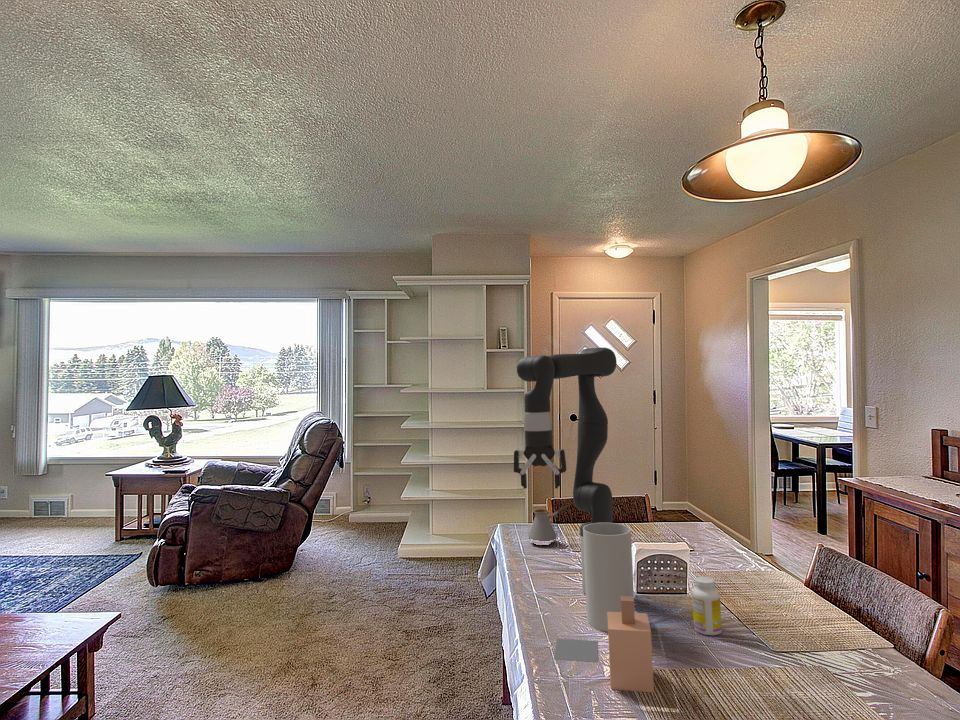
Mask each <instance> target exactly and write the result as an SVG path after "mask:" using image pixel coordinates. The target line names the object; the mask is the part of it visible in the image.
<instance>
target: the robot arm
mask: <svg viewBox="0 0 960 720" xmlns="http://www.w3.org/2000/svg"><path fill="white" fill-rule="evenodd" d="M616 368H617V357H616V354H615V352H614V351H613V350H612V349H610V348H608V347H592V348H583V349H581V350H580V352H579V353H558V354H550V355H543V354H542V355H532V356H525V357H522V358H521V359H520V360H519V361H518V363H517V364H516V373H517V376H518V377H519V379H521V380H522V381H524V382H530V383H531V382H535V384H534V387H533V389H531V390H527V391H526V392H525V393H524V396H523V397H524V399H523V403H524V417H523V418H524V419H523V421H524V422H523V423H524V425H523V429H524V441H525V442H524V446H525V447H524V450H519V449H515V451H514V452H513V472H514V473H517V474H519V475H520V485H521V487H523V490H524V489H527V488H528V480H527V479H528V477H527V473H526V472H527V470H528V469H530V468H529V467H530V466H531V465H532V466H533V467H539V466H541V467H546V466H548V467H549V468H550V469H551V470H552V472H554V488H555V489H559V487H560V485H561V474H563V473H566V471H567V461H566V460H567V459H566V451H565V449H564V448H561V449H554V446H553V445H554V443H553V423H552V422H553V419H552V415H551V414H552V413H551V399H550V398H551V392H552V388H553V383H554V380H559V379H565V378H571V377H576V376H577V383H578V417H577V450H576V451H577V452H576V464H575V465H576V466H575V473H574V480H573V488H572V489H573V490H572V497H573V498H572V499H573V502H574V504H573V505H574V507H575V508H576V509H577V510H579V511H581V512H586V513H591V521H587V522H583V523H581V525H580V527H579V534H580V537H579V539H580V541H579V542H580V558H581V562H580V563H581V564H580V565H581V584H582V592H584V593H585V594H584V593H583V594H584V595H586V588H585V565H584V542H583V527H584V526H586V525H588V524H592V523H613V495H612V494H613V493H612V490H611V488H610V487H609V485H607V484H605V483H600V482H596V481H595V482H594V481H593V479H594V477H593V475H594V468H595V464H596V461H597V460H598V458H599V457H600V455H601V453H602V452H603V450H604V448H605V446H606V444H607V441H608V436H609V435H608V430H609V425H608V424H609V421H608V416H607V414H606V410H605V409H604V407H603V405H602V404H601V402H600V400H599V398H598V395H597V393H596V387H595V378H596V377H600V378H604V377H608V376H611V375H612V374H614V372H615V370H616ZM523 455H524V457H525V458H526V459H527V461H526V462H525V464H524V465H523V467H522V468H521V467H520V459H521V458H522V457H523ZM555 455H556V457H557V458H558V459H560V467H558V466H557V465H556V463H555V461H553V458H554V456H555Z"/></svg>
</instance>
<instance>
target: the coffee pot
mask: <svg viewBox="0 0 960 720" xmlns="http://www.w3.org/2000/svg"><path fill="white" fill-rule="evenodd" d="M573 505H575V504H574V501H573V502H571V503H568V504H567V505H564V506H563V507H561V508H559V509H558V510H557V511H555V512H553V513H552V514H550V515H549V513H550V510H548V509H545V508H544V509H543V508H540V509H539V508H538V509H534V510H533V511H532V512H533V513H534V518H533V522H532V525H531V526H530V529H529V533H528V534H527V536H528V537H529V538H531V539H533V540H539V541H550V540H554V539H556V540H557V538H556V537H557V533H556V531H555V528H554V527H553V524H552V522H551V520H550V519H551V518H552V517H554V516H556V515H557V514H560V513H562V512H564V511H566V510H567V509H568V508H569V507H572V506H573ZM529 538H528V539H529Z"/></svg>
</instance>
